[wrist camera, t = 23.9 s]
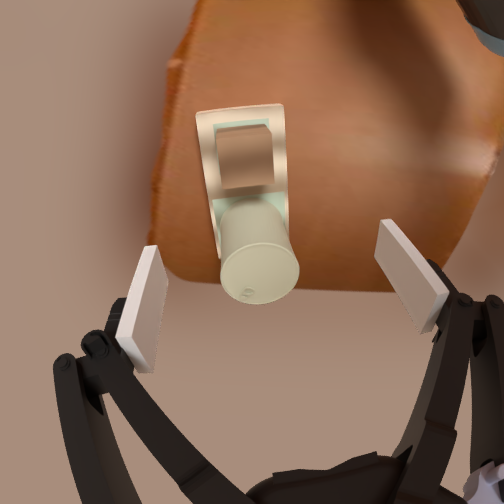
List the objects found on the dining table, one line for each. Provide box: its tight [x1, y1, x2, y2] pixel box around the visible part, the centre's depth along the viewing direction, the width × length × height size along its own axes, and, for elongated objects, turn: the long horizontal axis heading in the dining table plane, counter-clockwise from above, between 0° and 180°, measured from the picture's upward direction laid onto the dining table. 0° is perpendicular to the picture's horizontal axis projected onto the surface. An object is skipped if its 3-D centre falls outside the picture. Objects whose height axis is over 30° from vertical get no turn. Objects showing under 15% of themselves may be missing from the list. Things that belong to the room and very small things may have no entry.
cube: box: [216, 124, 275, 189], centre depth 34 cm, size 6×6×6 cm
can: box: [220, 198, 299, 305], centre depth 39 cm, size 9×9×12 cm
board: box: [195, 103, 289, 259], centre depth 41 cm, size 22×11×3 cm, turn 5°
